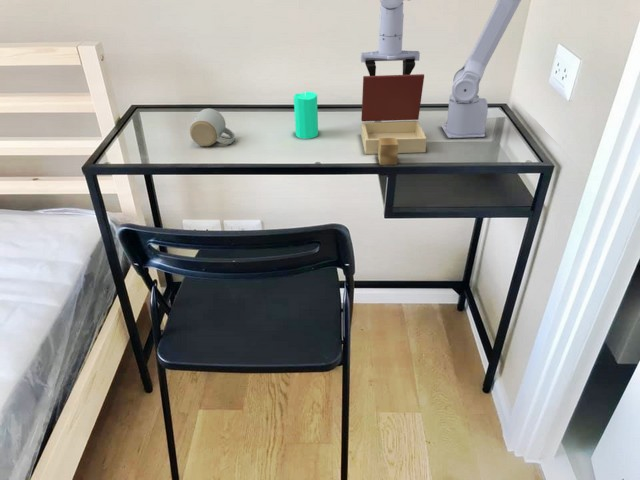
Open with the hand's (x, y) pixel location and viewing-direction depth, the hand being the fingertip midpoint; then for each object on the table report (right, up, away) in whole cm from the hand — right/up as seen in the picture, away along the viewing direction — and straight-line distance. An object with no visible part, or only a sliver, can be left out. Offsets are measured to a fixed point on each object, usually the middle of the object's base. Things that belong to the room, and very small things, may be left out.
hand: (388, 89), depth 137 cm
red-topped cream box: (0, -15, -4) cm, 15 cm away
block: (-2, -20, -12) cm, 24 cm away
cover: (0, -4, -6) cm, 7 cm away
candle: (-21, -11, +3) cm, 24 cm away
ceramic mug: (-45, -14, +1) cm, 47 cm away
